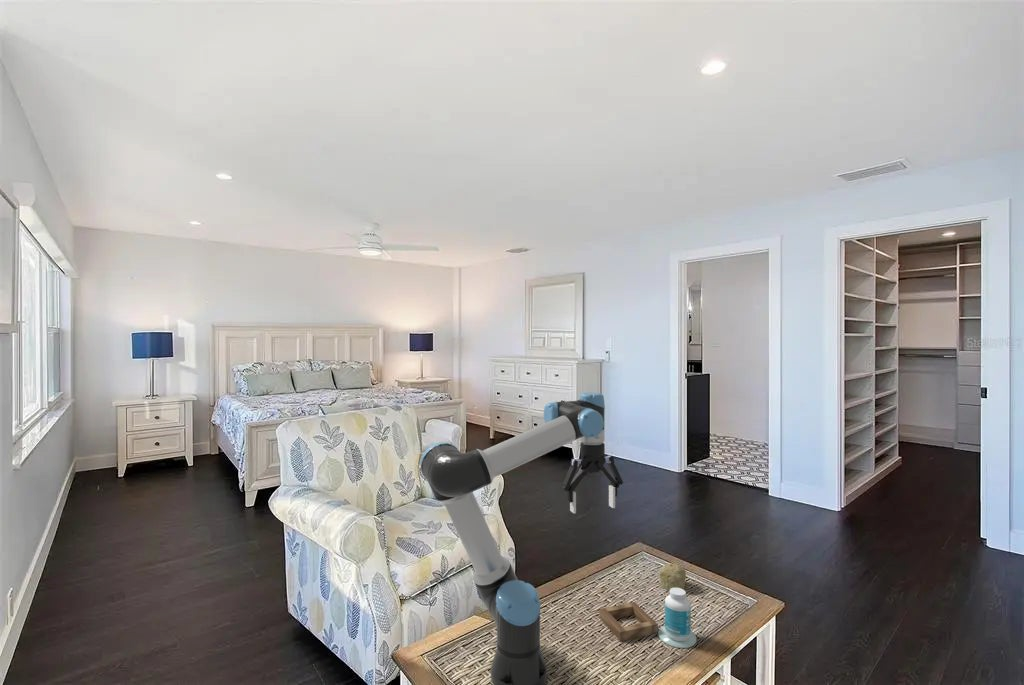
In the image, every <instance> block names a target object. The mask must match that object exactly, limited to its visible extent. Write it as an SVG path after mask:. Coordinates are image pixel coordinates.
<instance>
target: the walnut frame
mask: <svg viewBox="0 0 1024 685" xmlns="http://www.w3.org/2000/svg"><path fill="white" fill-rule="evenodd" d="M598 611H599V619H600V620H601V622H602V623H603V624H604V625H605V626H606V627H607V628H608V630H610V632H611V633H612V634H613V635H614V636H615V637H616V639H617V640H618V641H619V642H624V641H628V640H633V639H637V638H641V637H645V636H650V635H654V634H658V631H659V629H658V626H659V625H658V623H657V622H656V620H654V619H653V618H652V617H651V616H650V615H649V614H648V613H647V612H646V611H644V609H643V608H642V607H640V606H639V604H637V602H635V601H633V602H628V603H624V604H618V605H614V606H613V605H612V606H609V607H604V608H600V609H599V610H598ZM629 616H634V618H635V620H637V621H638V622H640V623H636V624H631V625H627V626H622V625H621V624H620V623H619V621H617V619H619V618H624V617H629Z"/></svg>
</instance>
